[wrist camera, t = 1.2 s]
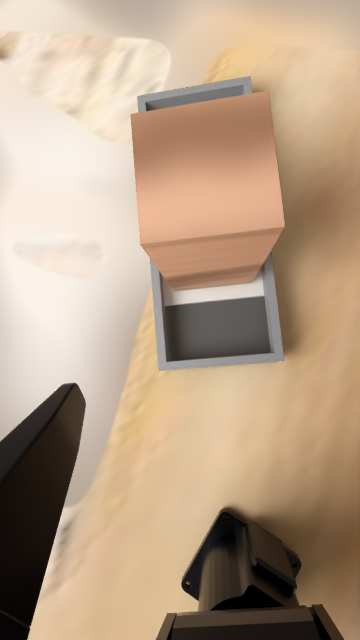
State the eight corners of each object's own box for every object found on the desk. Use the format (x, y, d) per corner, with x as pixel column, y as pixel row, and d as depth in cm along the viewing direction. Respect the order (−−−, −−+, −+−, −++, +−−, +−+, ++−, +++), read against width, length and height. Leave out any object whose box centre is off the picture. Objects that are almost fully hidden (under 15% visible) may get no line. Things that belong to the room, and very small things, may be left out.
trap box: (278, 359, 23) (284, 360, 21) (163, 368, 24) (158, 370, 22) (247, 97, 25) (250, 76, 23) (143, 115, 26) (137, 96, 24)
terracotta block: (251, 283, 23) (285, 226, 12) (174, 291, 24) (140, 244, 13) (243, 208, 24) (268, 90, 13) (167, 218, 24) (130, 114, 13)
